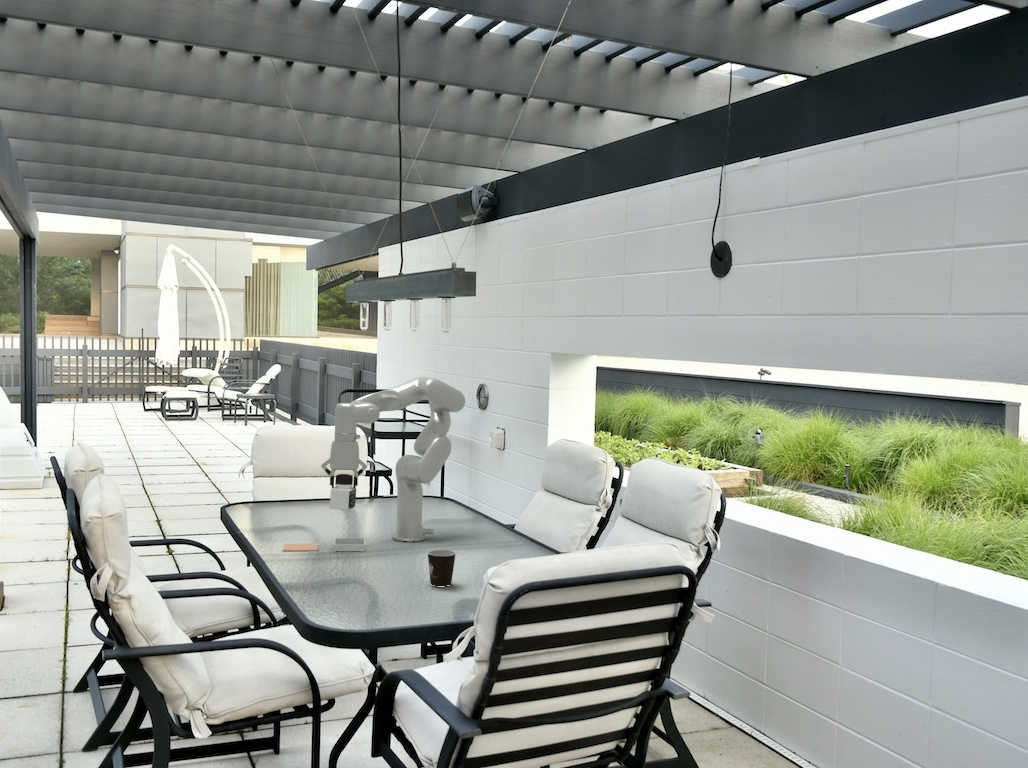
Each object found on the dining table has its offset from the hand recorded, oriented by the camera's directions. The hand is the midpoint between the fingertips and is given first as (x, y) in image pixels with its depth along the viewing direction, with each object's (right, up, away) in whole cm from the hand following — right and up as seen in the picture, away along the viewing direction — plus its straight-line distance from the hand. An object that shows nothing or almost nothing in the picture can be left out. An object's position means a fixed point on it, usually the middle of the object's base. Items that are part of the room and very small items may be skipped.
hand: (343, 487), depth 333 cm
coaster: (-15, -22, -1) cm, 26 cm away
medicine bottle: (-1, -8, 0) cm, 8 cm away
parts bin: (+2, -22, +2) cm, 22 cm away
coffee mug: (+38, -26, -45) cm, 64 cm away
